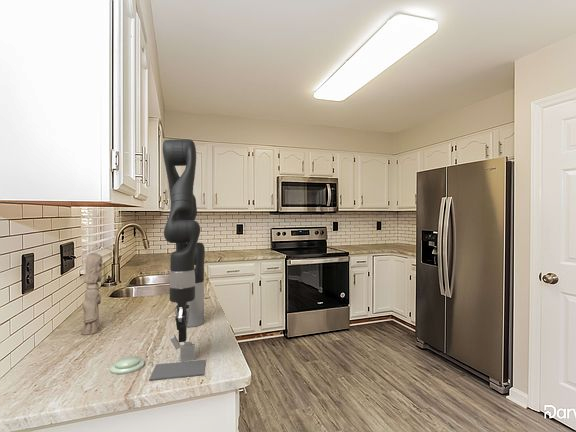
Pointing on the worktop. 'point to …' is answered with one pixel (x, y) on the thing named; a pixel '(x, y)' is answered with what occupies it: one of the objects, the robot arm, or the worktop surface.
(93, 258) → the sculpture
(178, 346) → the lighter
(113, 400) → the worktop surface
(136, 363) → the dish
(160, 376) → the mat
